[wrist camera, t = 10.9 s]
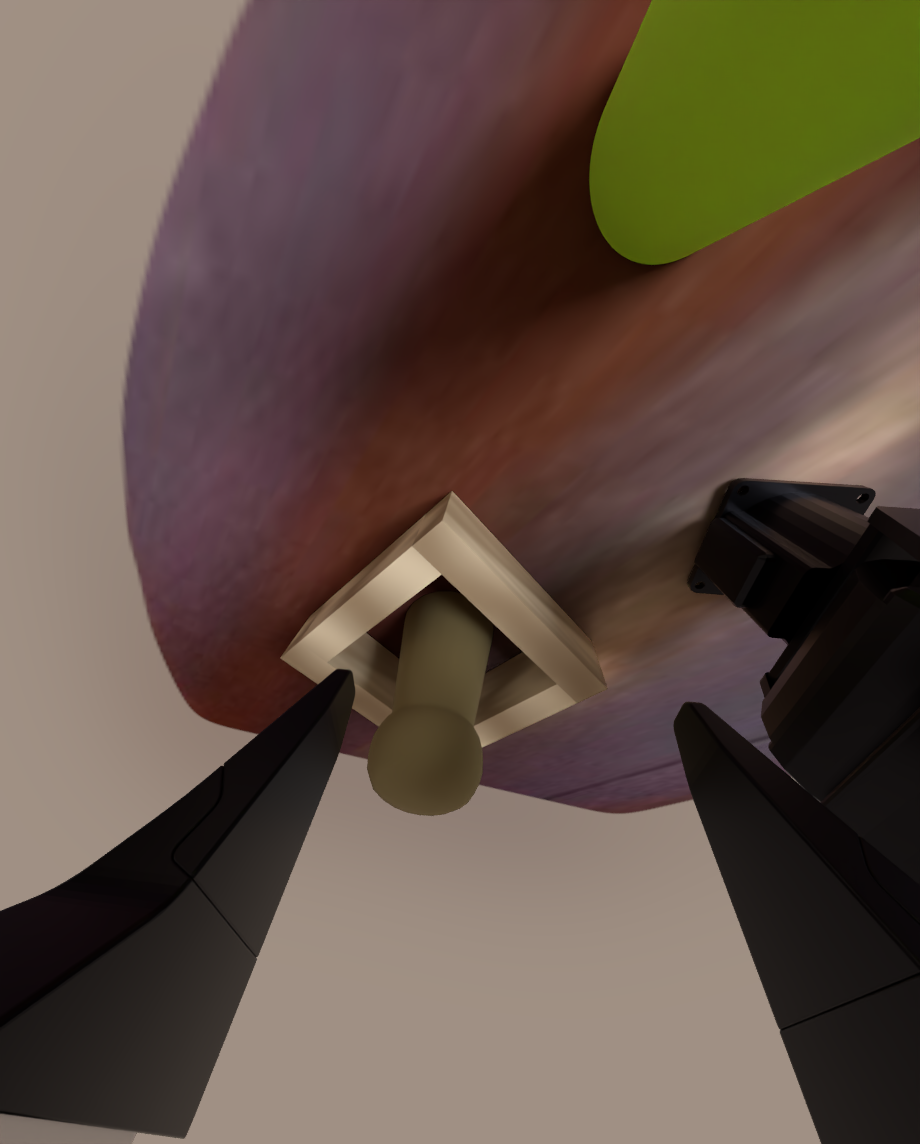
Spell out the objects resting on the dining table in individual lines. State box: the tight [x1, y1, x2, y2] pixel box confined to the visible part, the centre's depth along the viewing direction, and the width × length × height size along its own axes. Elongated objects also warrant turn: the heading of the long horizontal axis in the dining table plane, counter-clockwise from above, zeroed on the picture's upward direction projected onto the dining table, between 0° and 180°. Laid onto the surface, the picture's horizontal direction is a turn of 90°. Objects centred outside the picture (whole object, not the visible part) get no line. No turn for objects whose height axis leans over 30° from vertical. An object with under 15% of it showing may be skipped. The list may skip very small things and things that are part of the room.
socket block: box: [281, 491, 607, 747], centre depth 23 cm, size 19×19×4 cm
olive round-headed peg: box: [367, 591, 493, 816], centre depth 20 cm, size 6×6×11 cm
